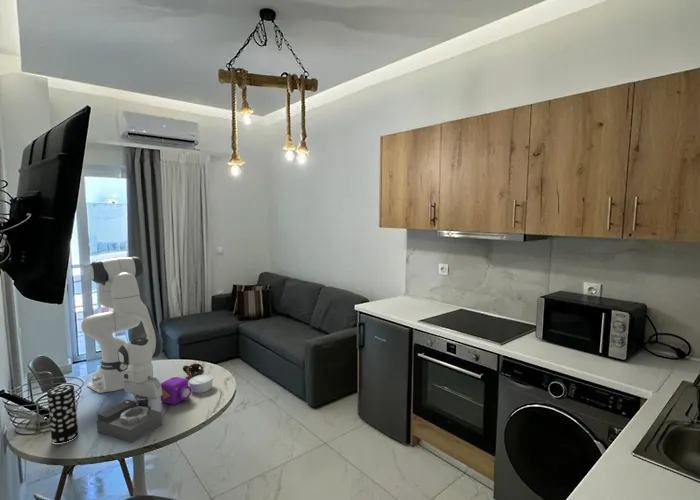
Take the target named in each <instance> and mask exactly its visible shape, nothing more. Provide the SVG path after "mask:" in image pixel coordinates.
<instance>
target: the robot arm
mask: <svg viewBox="0 0 700 500" xmlns="http://www.w3.org/2000/svg"><path fill="white" fill-rule="evenodd" d="M144 268H145V267H144V263H143V260H142V259H141V258H140V257H139V256H122V257H121V256H119V257H114V258H106V259H105V258H104V259H97V260H94V261H92V262H91V263H90V264H89V268H88V275H89V277H90V279H91V281H93V282H94V283H96V284H98V302H99V303H100V305H102V306H103V307H105V308H108V309H112V310H111V311H105V312H98V313H94V314H91V315H88V316H85V317H84V319H83V320H82V321H81V324H80V325H81V326H80V327H81V331H82V332H83V334H84V335H85V336H87V337H90V338H92V339H93V340H95V341H96V342H97V343H98V345H99V348H100V351H101V352H100V353H101V359H102V360H99V364H100V367H98V369H97V370H95V371H94V373H93V374H92V377H91V379H92V380H91V381H89V382H88V383H87V384H86V386H87V387H88V388H89V389H91V390H93V391H95V392H96V393H99V394H103V393H107V392H115V391H116V392H117V391H120V390H124V392H125V393H129V394H133V397H134V399H135V402H137V395H139V396H143V397H147V399H148V402H146V406H151V407H152V405H153V400H157V399H159V398H160V397H161V396H162V387H161V383H162V382H161V381H160V380H159V379H158V378H157V377H154V366H153V363H152V360H153V359H154V358H155V359H156V358H159V356H160V355H161V354H162V352H163V349H164V345H163V342H162V339H161V338H160V336H159V333H158V329H157V326H156V323H155V320H154V317H153V315H152V314H153V313H152V311H151V309H150V306H149V305H148V304H145V303H143V301H142V299H141V295H140V289H139V285H138V281H137V278H140V277H141V276H142V275H144ZM141 322H142V325H143V328H144V332H145V334H146V337H136V338H133V339H131V340H130V341H129V342H127V341H126V340H125V339H123V338H119V337H114V336H113V334H115V333H118V332H122V331H128V330H129V331H130V330H131V329H133V328H135V327H138V326H139V325H140V324H141ZM160 399H161V398H160ZM137 404H138V402H137Z"/></svg>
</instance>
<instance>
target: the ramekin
mask: <svg viewBox="0 0 700 500" xmlns="http://www.w3.org/2000/svg"><path fill="white" fill-rule="evenodd" d="M213 382H214V376H213V375H212V374H207V373H206V374H201V375H198V376H195V377H193V378H191V379H190V380H189V379H188V385H189V386H190V387H191V389H192V393H194V394H202V392H203V393H206V392H208V391H210V390H211V389H212V387H213ZM205 391H206V392H205Z"/></svg>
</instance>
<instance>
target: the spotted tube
mask: <svg viewBox="0 0 700 500" xmlns="http://www.w3.org/2000/svg"><path fill="white" fill-rule="evenodd" d="M75 393H76V392H75V386H74V385H72V384H64V385H61V386H56V387H54V388H51V389H50V390H48V391H47V392H46V397H47V406H48V415H49V418H48V419H49V425H50V437H51V443H52V442H54V443H63V442H67V441H69V440H72V439H74V438H75V437H76V436H77V435H78V436H79V429H78V428H79V425H78V416H77V406H76V405H77V404H76V394H75ZM75 439H76V438H75ZM75 439H74V440H75ZM72 441H73V440H72Z"/></svg>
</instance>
